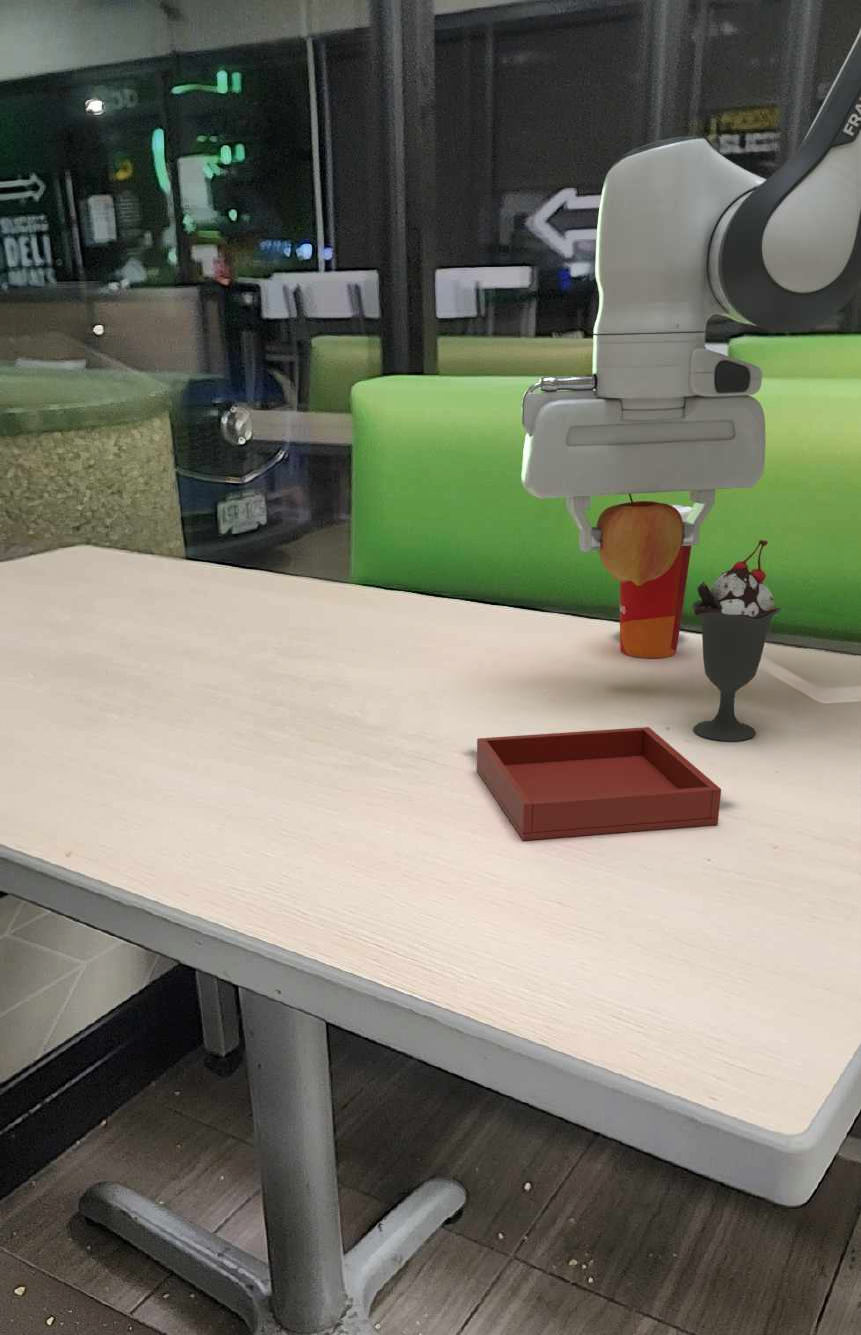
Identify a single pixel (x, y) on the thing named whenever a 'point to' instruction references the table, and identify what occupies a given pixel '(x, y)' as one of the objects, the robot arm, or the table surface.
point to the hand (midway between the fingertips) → (639, 547)
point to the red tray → (595, 783)
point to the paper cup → (655, 608)
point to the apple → (639, 540)
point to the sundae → (733, 641)
